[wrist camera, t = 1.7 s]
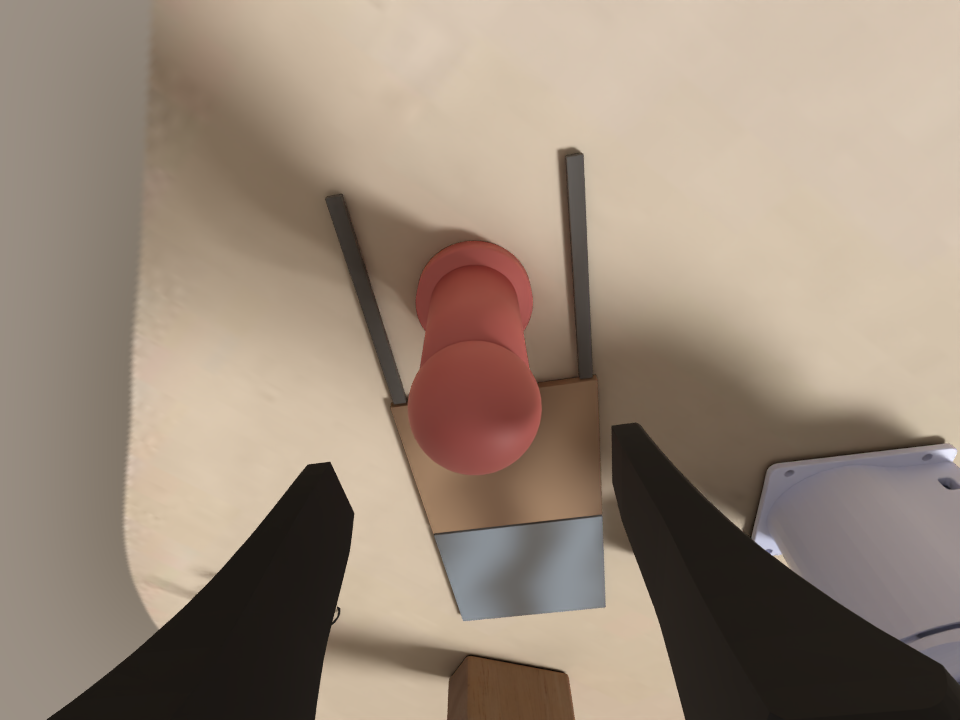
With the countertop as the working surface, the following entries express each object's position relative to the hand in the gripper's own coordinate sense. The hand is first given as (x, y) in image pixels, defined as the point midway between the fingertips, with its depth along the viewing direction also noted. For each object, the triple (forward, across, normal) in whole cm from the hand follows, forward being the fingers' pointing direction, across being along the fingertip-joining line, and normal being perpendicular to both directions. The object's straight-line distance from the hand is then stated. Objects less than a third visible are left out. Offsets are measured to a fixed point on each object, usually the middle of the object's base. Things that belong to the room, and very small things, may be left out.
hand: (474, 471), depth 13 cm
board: (+10, 0, +10) cm, 14 cm away
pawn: (+10, 0, 0) cm, 10 cm away
